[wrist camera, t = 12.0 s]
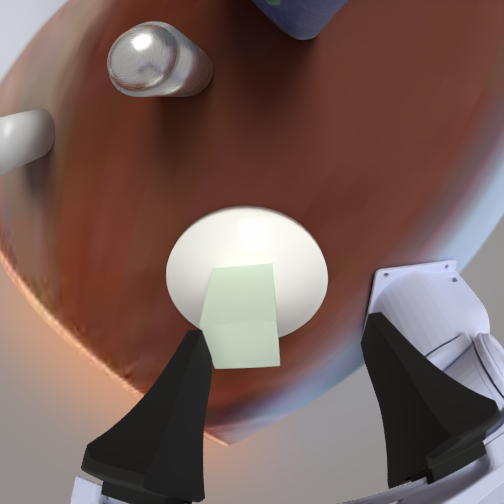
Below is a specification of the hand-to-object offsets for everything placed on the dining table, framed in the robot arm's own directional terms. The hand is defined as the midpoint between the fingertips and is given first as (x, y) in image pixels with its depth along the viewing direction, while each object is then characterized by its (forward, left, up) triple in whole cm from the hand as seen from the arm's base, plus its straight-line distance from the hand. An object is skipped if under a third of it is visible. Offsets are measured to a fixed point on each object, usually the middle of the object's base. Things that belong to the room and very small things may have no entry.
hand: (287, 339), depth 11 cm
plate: (+3, +4, -10) cm, 12 cm away
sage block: (+3, +4, -9) cm, 10 cm away
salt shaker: (+5, -12, -10) cm, 17 cm away
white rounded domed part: (+19, -12, -11) cm, 24 cm away
